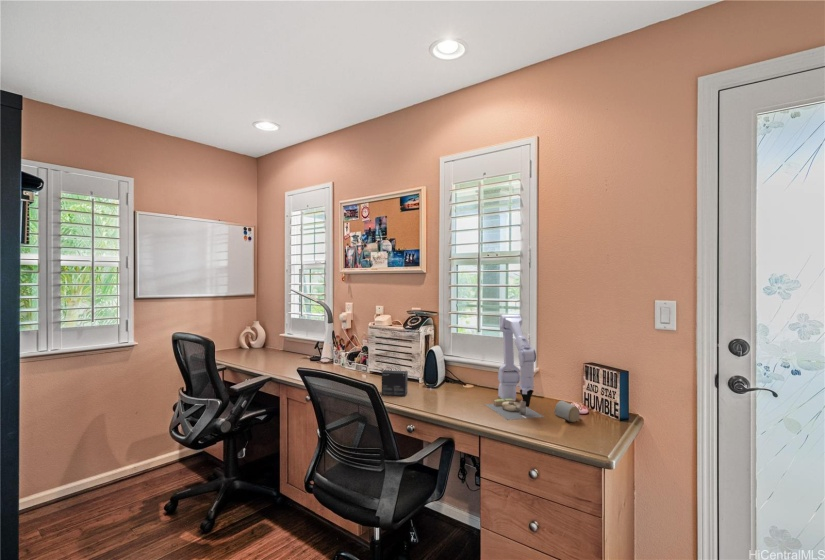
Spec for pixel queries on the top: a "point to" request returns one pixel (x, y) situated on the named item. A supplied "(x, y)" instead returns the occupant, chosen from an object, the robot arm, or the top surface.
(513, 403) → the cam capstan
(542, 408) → the top surface
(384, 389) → the small box
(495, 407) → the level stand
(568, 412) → the ceramic mug
